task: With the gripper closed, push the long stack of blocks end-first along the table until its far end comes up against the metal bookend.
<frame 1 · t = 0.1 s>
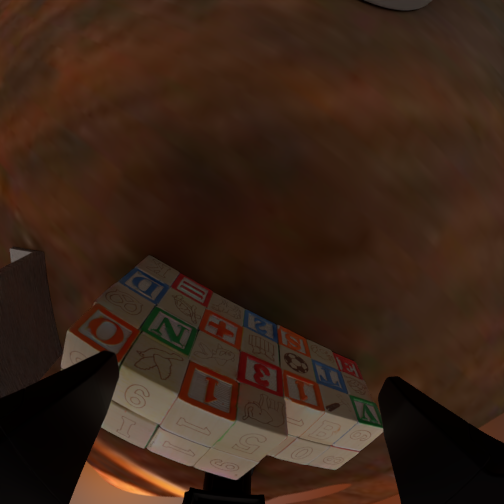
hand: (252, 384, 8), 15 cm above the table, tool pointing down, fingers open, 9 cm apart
stack of blocks: (243, 339, 25), on the table
bookend: (35, 302, 25), on the table
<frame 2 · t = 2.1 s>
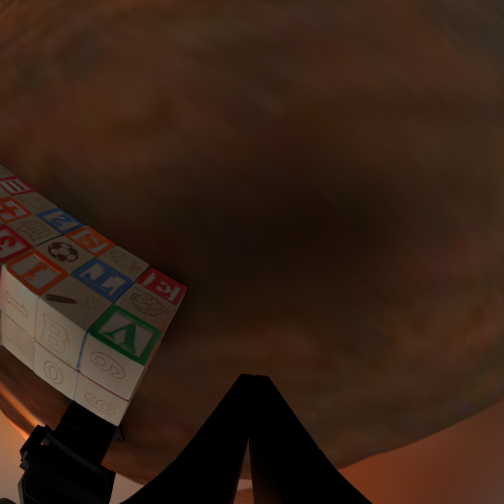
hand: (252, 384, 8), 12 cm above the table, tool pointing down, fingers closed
stack of blocks: (64, 247, 20), on the table
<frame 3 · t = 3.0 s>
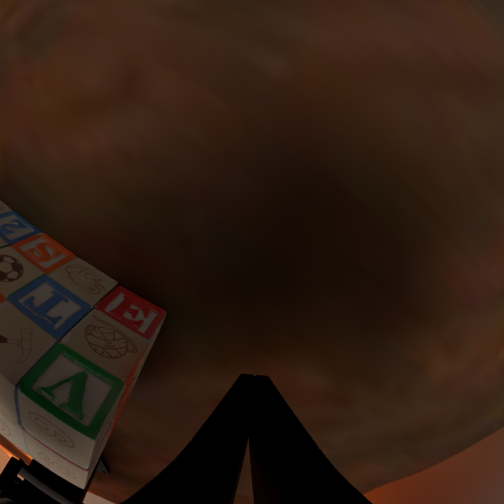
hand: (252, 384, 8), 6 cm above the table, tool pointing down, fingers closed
stack of blocks: (22, 259, 15), on the table
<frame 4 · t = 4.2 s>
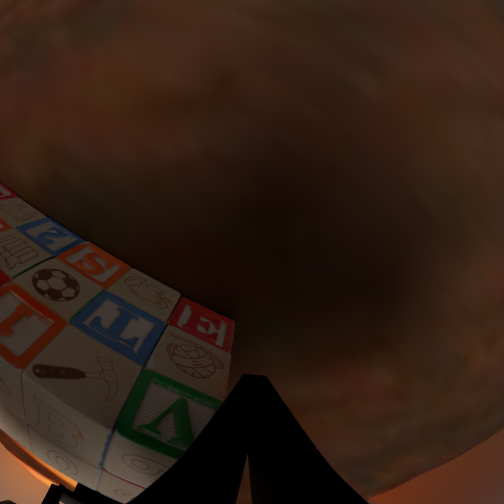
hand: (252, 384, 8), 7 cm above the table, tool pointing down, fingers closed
stack of blocks: (58, 270, 15), on the table, touching gripper
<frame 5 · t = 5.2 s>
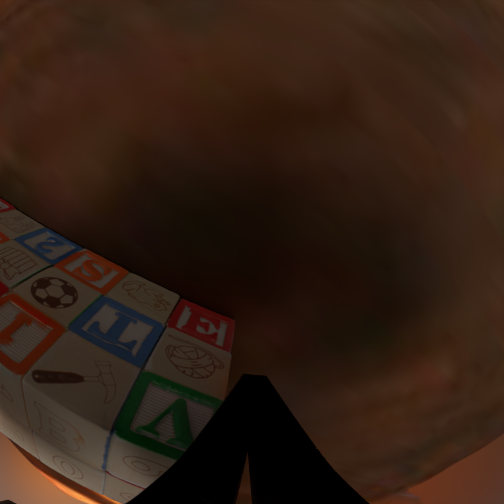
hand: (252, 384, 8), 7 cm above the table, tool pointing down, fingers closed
stack of blocks: (59, 279, 15), on the table, touching gripper
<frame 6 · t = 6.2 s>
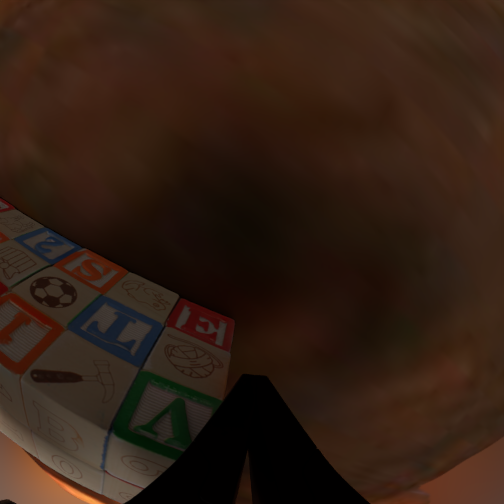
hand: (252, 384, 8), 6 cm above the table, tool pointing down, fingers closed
stack of blocks: (59, 279, 15), on the table, touching gripper
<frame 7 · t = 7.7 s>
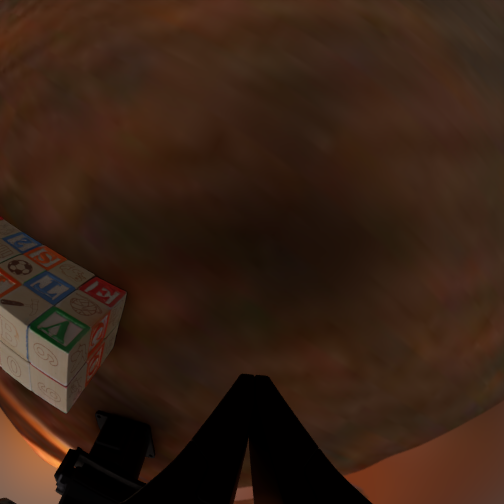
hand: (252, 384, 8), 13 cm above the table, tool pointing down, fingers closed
stack of blocks: (30, 265, 21), on the table
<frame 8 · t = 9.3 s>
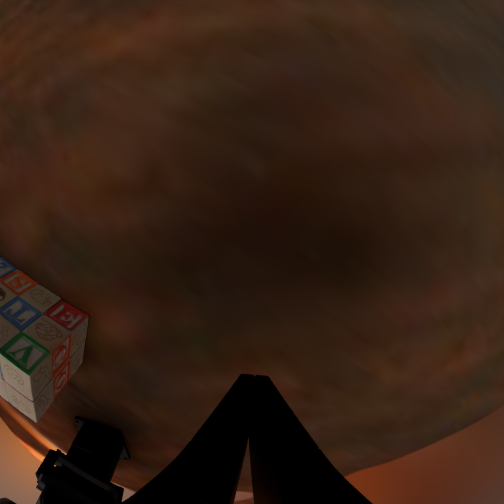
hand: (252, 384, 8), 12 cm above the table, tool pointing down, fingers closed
stack of blocks: (9, 286, 22), on the table
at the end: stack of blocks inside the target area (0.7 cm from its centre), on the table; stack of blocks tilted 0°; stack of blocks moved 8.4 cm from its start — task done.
